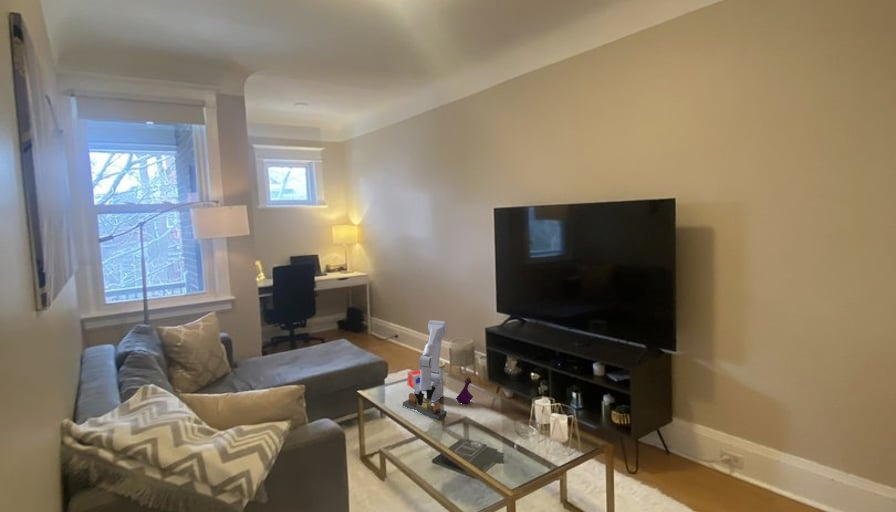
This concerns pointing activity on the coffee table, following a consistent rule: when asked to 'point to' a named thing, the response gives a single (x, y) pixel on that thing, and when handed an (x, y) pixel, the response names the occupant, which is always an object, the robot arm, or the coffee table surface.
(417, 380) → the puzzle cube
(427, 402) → the lever cap
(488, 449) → the coffee table surface
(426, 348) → the robot arm
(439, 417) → the hand plane
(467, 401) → the perfume bottle
